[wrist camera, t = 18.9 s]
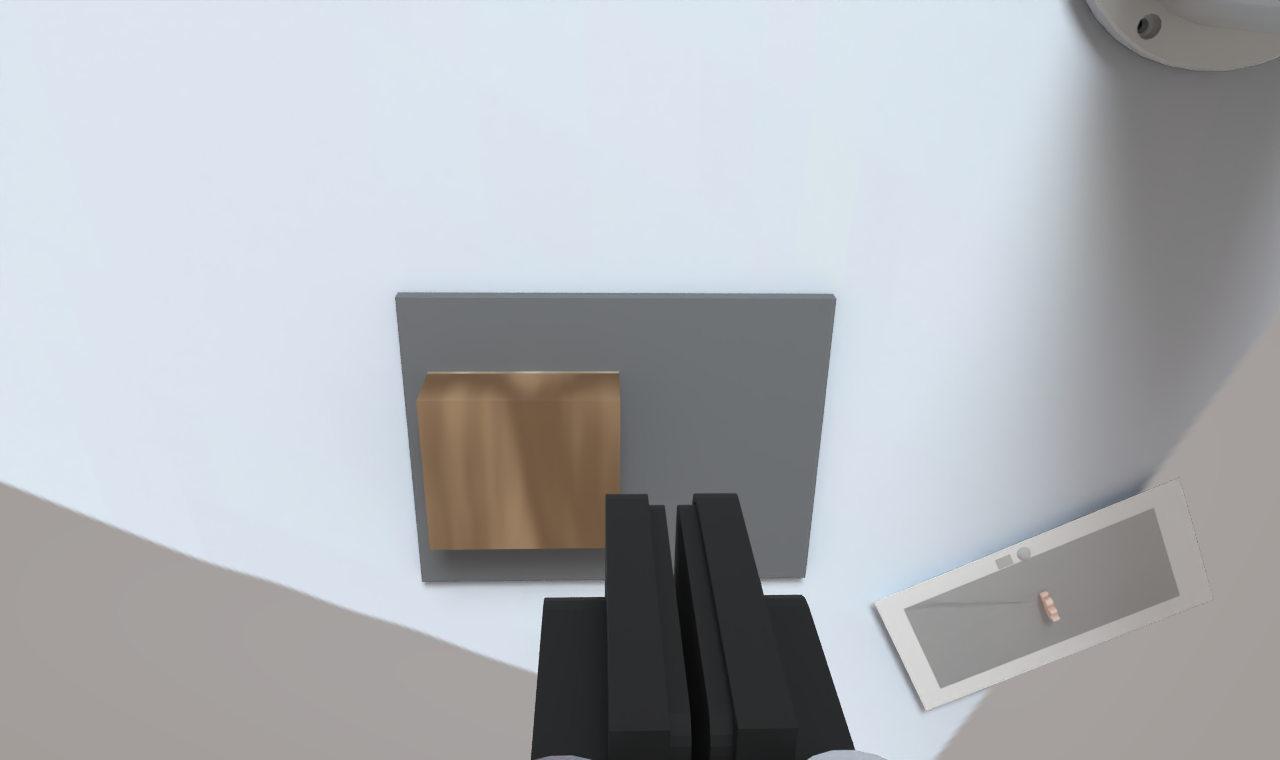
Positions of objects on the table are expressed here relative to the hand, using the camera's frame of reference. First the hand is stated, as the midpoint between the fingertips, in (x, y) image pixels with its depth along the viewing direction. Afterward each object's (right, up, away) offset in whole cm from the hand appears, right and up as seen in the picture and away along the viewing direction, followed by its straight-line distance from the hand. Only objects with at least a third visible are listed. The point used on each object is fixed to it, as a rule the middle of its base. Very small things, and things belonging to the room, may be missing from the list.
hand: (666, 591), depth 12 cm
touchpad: (+19, -8, +35) cm, 41 cm away
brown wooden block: (-1, -1, +28) cm, 28 cm away
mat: (-1, 0, +30) cm, 30 cm away
